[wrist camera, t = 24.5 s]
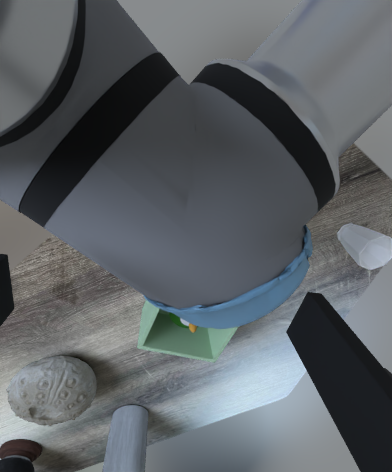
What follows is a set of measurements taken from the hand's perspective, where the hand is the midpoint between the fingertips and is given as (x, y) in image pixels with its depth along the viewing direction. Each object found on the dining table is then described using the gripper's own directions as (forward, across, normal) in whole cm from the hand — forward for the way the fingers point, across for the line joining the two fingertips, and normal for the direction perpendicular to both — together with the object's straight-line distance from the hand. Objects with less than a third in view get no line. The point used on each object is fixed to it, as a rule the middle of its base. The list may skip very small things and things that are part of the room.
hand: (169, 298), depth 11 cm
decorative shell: (+32, -16, -53) cm, 64 cm away
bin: (+32, +9, -25) cm, 41 cm away
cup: (+32, +39, -6) cm, 50 cm away
